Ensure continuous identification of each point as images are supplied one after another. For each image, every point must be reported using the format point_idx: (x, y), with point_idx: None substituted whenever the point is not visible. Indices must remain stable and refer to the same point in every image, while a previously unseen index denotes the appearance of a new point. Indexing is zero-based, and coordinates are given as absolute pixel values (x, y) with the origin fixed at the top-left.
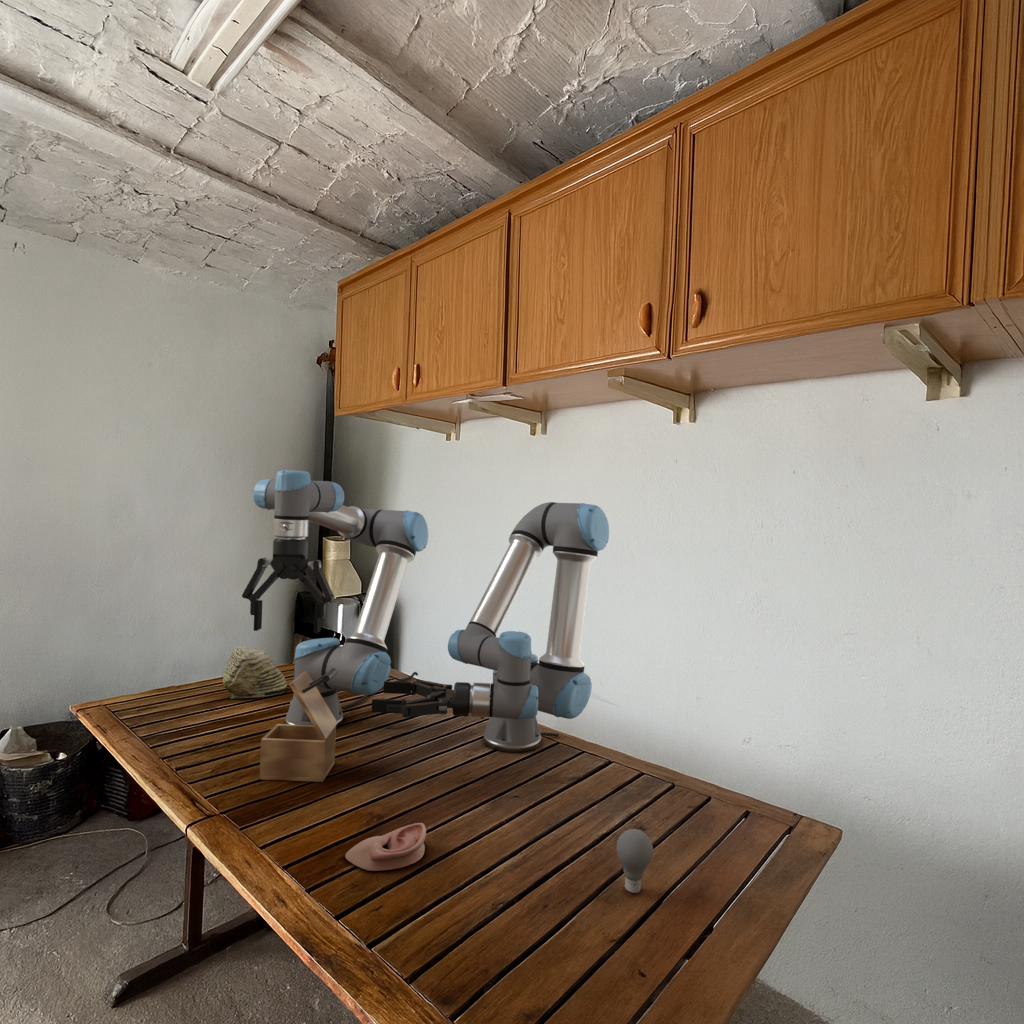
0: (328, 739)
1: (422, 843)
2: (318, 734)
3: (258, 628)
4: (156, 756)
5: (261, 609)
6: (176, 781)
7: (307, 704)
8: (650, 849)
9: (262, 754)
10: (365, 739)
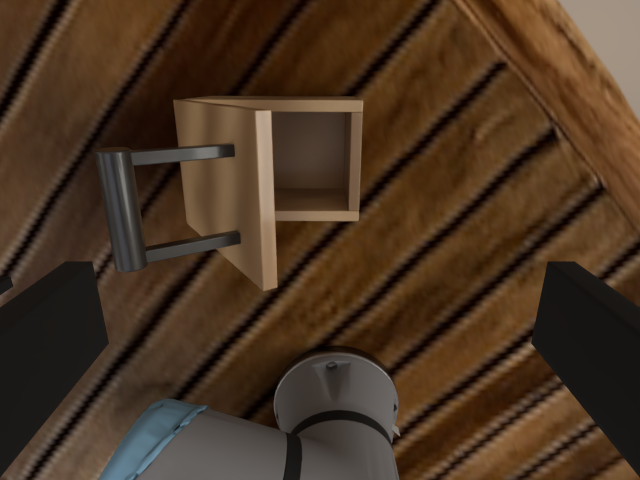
0: None
1: None
2: None
3: (547, 296)
4: (619, 196)
5: (637, 452)
6: (535, 70)
7: (212, 117)
8: None
9: (354, 98)
10: (196, 324)
